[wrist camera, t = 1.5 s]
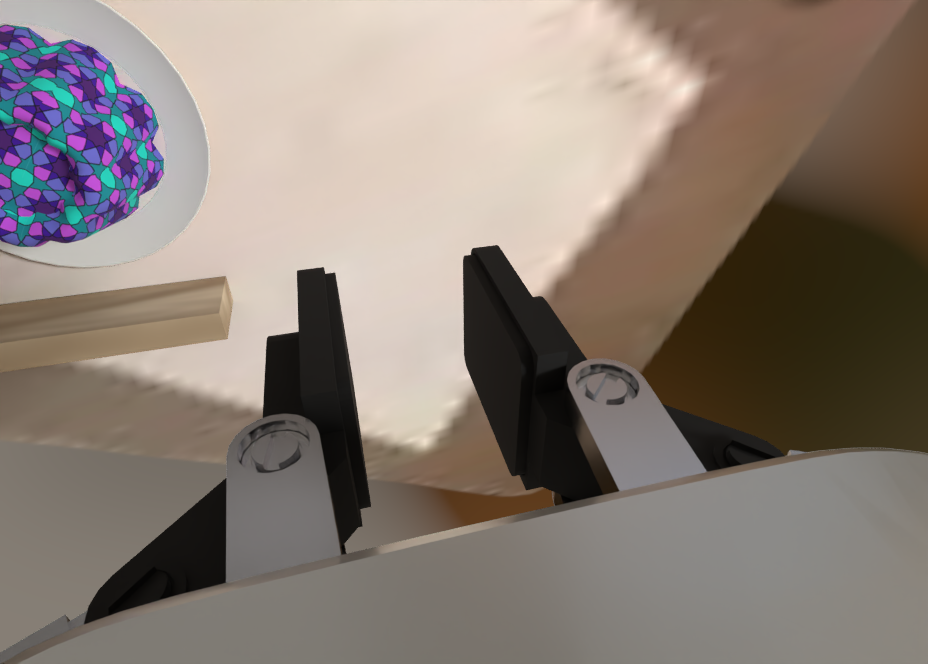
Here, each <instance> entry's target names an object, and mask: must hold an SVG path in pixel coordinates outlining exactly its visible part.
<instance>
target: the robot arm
mask: <svg viewBox="0 0 928 664" xmlns="http://www.w3.org/2000/svg"><path fill="white" fill-rule="evenodd" d="M297 287H298V323H299V332H295V333H288V334H282V335H275V336H268V338H267V346H266V365H265V385H264V405H263V418H262V419H259V420H257V421H255V422H253V423H251V424H250V425H248V426H246V427H245V428H244V429H243V430H241V431H240V432H239V433H238V434H237V435H236V436H235V437H234V439H233V441H232V442H231V444H230V445H229V448H228V453H227V478H226V479H225V480H223V481H222V482H221V483H220V484H219V485H217V486H216V487H215V488H214V489H213V490H212V491H210V493H208V494H207V495H206V496H205V497H204V498H202V499H201V500H200V501H199V502H198V503H196V504H195V505H194V506H193V507H192V508H191V509H190V510H188V511H187V512H186V513H185V514H184V515H182V516H181V517H180V518H179V519H178V520H177V521H176V522H174V523H173V524H172V525H171V526H170V527H169V528H167V529H166V530H165V531H164V532H163V533H162V534H160V535H159V536H158V537H157V538H156V539H155V540H153V541H152V542H151V543H150V544H149V545H147V546H146V547H145V548H144V549H143V550H142V551H140V553H138V554H137V555H136V556H135V557H133V558H132V559H131V560H130V561H129V562H128V563H127V564H125V565H124V566H123V567H122V568H121V569H120V570H118V571H117V572H116V573H115V574H114V575H112V577H111V578H110V579H109V580H108V581H107V582H106V583H105V584H104V585H103V586H102V587H101V588H100V589H99V590H98V592H97V594H96V595H95V597H94V598H93V600H92V602H91V603H90V605H89V607H88V610H87V611H86V612H85V613H83V614H81V615H79V616H78V617H76V618H74V619H73V620H71V621H70V620H69V618H68V617H67V616H66V615H64V616H62V617H60V618H59V619H57V620H55V621H53V622H52V623H50V624H48V625H47V626H45V627H44V628H42V629H40V630H38V631H36V632H35V633H33V634H31V635H29V636H28V637H26V638H25V639H23V640H21V641H19V642H18V643H16V644H14V645H12V646H11V647H9V648H7V649H6V650H4V651H2V652H0V664H928V453H923V452H917V451H907V450H899V449H890V448H845V449H835V450H823V451H814V452H809V453H806V452H800V451H793V450H790V451H789V453H788V455H787V456H784V455H783V453H781V451H780V450H779V449H777V448H776V447H774V446H773V445H771V444H770V443H768V442H767V441H765V440H762V439H760V438H758V437H756V436H753V435H751V434H747V433H744V432H742V431H739V430H736V429H733V428H730V427H727V426H724V425H721V424H719V423H715V422H713V421H710V420H707V419H704V418H701V417H698V416H695V415H692V414H689V413H687V412H684V411H680V410H678V409H675V408H672V407H669V406H666V405H663V404H661V402H660V401H659V399H658V398H657V396H656V395H655V393H654V392H653V390H652V389H651V388H650V386H649V384H648V383H647V381H646V380H645V379H644V377H643V376H642V375H641V374H640V373H639V372H638V371H637V370H635V369H634V368H632V367H630V366H629V365H627V364H624V363H621V362H619V361H615V360H610V359H590V360H587V359H586V357H585V356H584V354H583V353H582V352H581V350H580V349H579V347H578V346H577V344H576V343H575V342H574V340H573V339H572V337H571V336H570V334H569V333H568V332H567V330H566V329H565V327H564V326H563V324H562V323H561V321H560V320H559V319H558V317H557V316H556V314H555V313H554V311H553V310H552V309H551V307H550V306H549V304H548V303H547V301H546V300H545V299H544V298H543V297H540V296H538V297H532V295H531V294H530V292H529V291H528V289H527V288H526V286H525V285H524V283H523V282H522V280H521V279H520V277H519V276H518V274H517V273H516V271H515V270H514V268H513V267H512V265H511V264H510V262H509V261H508V259H507V258H506V256H505V255H504V253H503V252H502V250H501V249H500V247H499V246H498V245H495V246H487V247H479V248H473V249H472V251H471V255H467V256H464V259H463V295H464V356H465V362H466V366H467V369H468V371H469V374H470V376H471V379H472V381H473V384H474V386H475V389H476V391H477V393H478V396H479V398H480V401H481V403H482V406H483V408H484V411H485V413H486V415H487V418H488V420H489V423H490V425H491V428H492V430H493V432H494V435H495V437H496V440H497V442H498V445H499V447H500V450H501V452H502V454H503V457H504V459H505V462H506V464H507V467H508V469H509V471H510V473H511V475H512V476H517V475H520V477H521V479H522V482H523V484H524V486H525V489H526V490H530V489H534V488H539V487H544V488H546V489H549V490H551V491H552V496H553V502H554V505H555V506H553V507H548V508H544V509H540V510H535V511H530V512H526V513H521V514H517V515H513V516H508V517H504V518H500V519H495V520H491V521H486V522H483V523H478V524H473V525H469V526H465V527H461V528H456V529H452V530H447V531H443V532H438V533H434V534H430V535H425V536H421V537H417V538H413V539H408V540H404V541H400V542H395V543H391V544H387V545H383V546H379V547H374V548H370V549H365V550H361V551H357V552H353V553H349V554H347V553H346V548H345V544H344V543H345V542H346V541H347V540H348V539H349V537H350V536H351V535H352V534H353V533H354V532H355V530H356V529H357V528H358V527H361V526H362V519H361V511H360V509H362V508H367V507H371V502H370V495H369V488H368V482H367V475H366V468H365V461H364V454H363V447H362V440H361V433H360V426H359V419H358V412H357V406H356V399H355V392H354V385H353V378H352V372H351V366H350V360H349V354H348V348H347V342H346V336H345V330H344V324H343V318H342V312H341V305H340V299H339V293H338V287H337V281H336V275H335V273H329V274H325V271H324V267H322V268H314V269H306V270H298V271H297Z"/></svg>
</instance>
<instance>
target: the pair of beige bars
mask: <svg viewBox="0 0 928 664" xmlns="http://www.w3.org/2000/svg"><path fill="white" fill-rule="evenodd" d="M232 305H233V299H232V296H231V292H230V289H229V286H228V282H227V279H226V276H225V277H217V278H209V279H201V280H193V281H185V282H177V283H169V284H161V285H153V286H146V287H138V288H130V289H122V290H114V291H106V292H98V293H90V294H82V295H74V296H66V297H58V298H50V299H43V300H35V301H27V302H19V303H11V304H3V305H0V372H6V371H13V370H20V369H27V368H34V367H40V366H47V365H54V364H61V363H68V362H74V361H81V360H88V359H95V358H102V357H108V356H115V355H122V354H129V353H135V352H142V351H149V350H156V349H163V348H169V347H176V346H183V345H190V344H197V343H203V342H210V341H217V340H224V339H228V332H229V325H230V318H231V312H232Z"/></svg>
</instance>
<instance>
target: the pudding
mask: <svg viewBox="0 0 928 664" xmlns="http://www.w3.org/2000/svg"><path fill="white" fill-rule="evenodd" d="M4 23H8V24H29V25H34V26H39V27H44V28H49V29H52V30H55V31H58V32H61V33H64V34H67V35H69V36H72V37H74V38H76V39H78V40H80V41H82V42H84V43H86V44H88V45H90V46H92V47H94V48H95V49H97V50H98V51H99V52H101V53H102V54H104V55H105V56H107V57H108V58H110V59H111V60H113V61H114V62H115V63H116V64H117V65H118V66H119V67H120V68H121V69H123V70H124V71H125V72H126V73H127V74H128V75H129V76H130V77H131V78H132V79H133V81H134V82H135V83H136V84H137V85H138V86H139V88H140V89H141V90H142V91H143V92H144V94H145V96H146V97H147V99H148V100H149V102H150V104H151V105H152V107H153V108H154V109H153V108H152V107H151V105H150V104H149V103H148V102H147V100H146V99H145V98H144V96H143V95H142V94H141V93H139V92H137V91H135V90H133V89H131V88H128V87H126V86H124V85H122V84H120V83H119V80H118V78H117V76H116V73H115V71H114V68H113V66H112V63H111V62H110V61H109V60H107V59H106V58H105V57H104V56H102V55H101V54H100V53H99V52H98V51H96V50H95V49H94V48H92V47H90V46H87V45H85V44H82V43H80V42H77V41H74V40H67V41H62V42H57V43H52V44H51V43H49V42H48V41H46V40H45V39H43V38H42V37H41V36H39V35H38V34H36V33H35V32H34V31H32V30H31V29H29V28H26V27H19V26H12V25H2V26H0V250H2V251H4V252H7V253H10V254H13V255H16V256H19V257H22V258H25V259H28V260H32V261H36V262H41V263H46V264H51V265H56V266H65V267H78V268H94V267H110V266H115V265H120V264H124V263H129V262H133V261H136V260H139V259H141V258H144V257H146V256H149V255H152V254H154V253H156V252H157V251H159V250H160V249H162V248H164V247H165V246H167V245H169V244H170V243H172V242H173V241H174V240H175V239H176V238H177V237H178V236H179V235H180V234H182V233H183V232H184V231H185V230H186V229H187V228H188V226H189V225H190V223H191V222H192V221H193V219H194V218H195V216H196V215H197V213H198V212H199V209H200V207H201V205H202V202H203V200H204V198H205V195H206V192H207V187H208V182H209V177H210V146H209V141H208V136H207V131H206V126H205V123H204V120H203V118H202V115H201V113H200V110H199V107H198V105H197V102H196V100H195V98H194V96H193V95H192V93H191V91H190V89H189V88H188V86H187V84H186V82H185V81H184V79H183V77H182V75H181V74H180V73H179V71H178V70H177V69H176V68H175V66H174V65H173V64H172V62H171V61H170V60H169V59H168V57H167V56H166V55H165V54H164V52H163V51H162V50H161V49H160V48H159V47H158V46H157V45H156V44H155V43H154V42H153V41H152V40H151V39H150V38H149V37H148V36H147V35H146V34H145V33H144V32H143V31H142V30H141V29H139V28H138V27H137V26H136V25H135V24H133V23H132V22H131V21H129V20H128V19H127V18H125V17H124V16H123V15H121V14H120V13H118V12H117V11H116V10H114V9H113V8H112V7H110V6H109V5H107V4H105V3H103V2H102V1H100V0H0V24H4ZM154 110H155V113H156V115H157V117H158V120H159V122H160V124H161V127H162V131H163V135H164V139H165V143H166V166H165V173H164V176H163V168H164V159H163V157H162V156H161V154H160V153H159V152H158V150H157V149H156V147H155V146H154V144H153V143H152V141H153V139H154V136H155V134H156V132H157V129H158V127H159V126H158V123H157V119H156V116H155V113H154ZM162 176H163V179H162V182H161V184H160V187H159V189H158V190H157V192H156V193H155V195H154V196H153V198H152V199H151V201H150V202H149V203H148V204H147V205H145V206H144V207H143V208H142V209H141V210H140V211H139V212H137V213H135V214H134V215H132V216H131V217H129V218H127V217H128V216H129V215H130V214H132V213H133V212H134V211H135V210H137V209H138V204H139V196H140V195H142V194H144V193H146V192H147V191H149V190H151V189H153V188H155V187H156V186H157V185H158V183H159V181H160V179H161V178H162ZM125 218H127V219H125ZM123 219H125V220H123ZM121 220H122V221H121Z"/></svg>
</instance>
